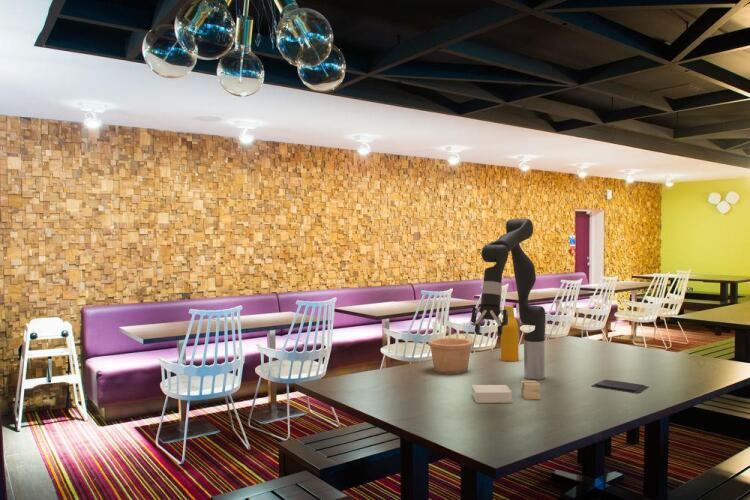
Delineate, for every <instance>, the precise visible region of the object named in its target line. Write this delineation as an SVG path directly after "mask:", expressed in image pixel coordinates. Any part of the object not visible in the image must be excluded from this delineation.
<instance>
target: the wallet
mask: <svg viewBox="0 0 750 500" xmlns="http://www.w3.org/2000/svg"><path fill="white" fill-rule="evenodd" d="M590 387H592V388H598V389H602V390H609V389H610V391H618V392H623V393H630V394H636V395H639V394H641V393H643V392H644V391H645V390H647V389H648V388H650V386H646V385H644V384H640V383H633V382H626V381H620V380H619V381H618V380H612V379H604V380H601V381H597V382H596V383H594V384H591V386H590Z"/></svg>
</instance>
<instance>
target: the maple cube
mask: <svg viewBox="0 0 750 500" xmlns="http://www.w3.org/2000/svg"><path fill="white" fill-rule="evenodd" d="M520 383H521V384H520V391H521V396H522V398H523V399H524V400H541V384H540V383H539V382H538V381H536V380H521V381H520Z"/></svg>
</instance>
